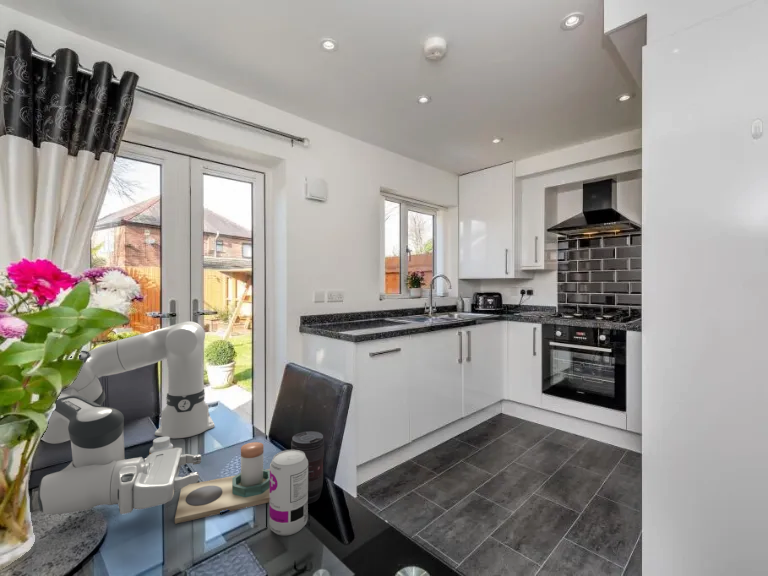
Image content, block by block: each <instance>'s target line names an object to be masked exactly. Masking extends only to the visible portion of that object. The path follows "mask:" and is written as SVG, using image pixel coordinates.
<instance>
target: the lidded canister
mask: <svg viewBox="0 0 768 576" xmlns="http://www.w3.org/2000/svg"><path fill="white" fill-rule="evenodd" d="M264 447H265V445H264V444H263V443H262V442H260V441H258V442H257V441H256V442H255V441H253V442H248V443H245V444H244V445H242V446H241V447H240V473H241V486H244V487H250V486H255V485H260V484H261V483H263V469H264Z"/></svg>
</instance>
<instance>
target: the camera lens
mask: <svg viewBox="0 0 768 576" xmlns="http://www.w3.org/2000/svg"><path fill="white" fill-rule="evenodd" d="M291 438H292V439H291V444H290V445H291V446H290V448H291V449H290V450H299V451H302V452H304V453H305V456H306V458H307V460H308V504H312V503H315V502H316V501H318V500H320V497H321V494H322V490H323V483H324V456H325V439H324V434H322V433H321V432H319V431H311V430H309V431H302V432H299V433H296V434H294V435H293V436H292V437H291Z"/></svg>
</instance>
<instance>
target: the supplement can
mask: <svg viewBox="0 0 768 576" xmlns="http://www.w3.org/2000/svg"><path fill="white" fill-rule="evenodd" d="M269 469H270V502H269V515H268V516H269V517H268V518H269V523H268V524H269V525H268V526H269V529H270V530H271V531H272V532H273V533H274V534H276V535H279V536H291V535H295V534H297V533H299V532H300V531H301V530H302V529H303V528H304V527H305V525H307V523H308V520H309V519H308V518H309V516H308V513H309V512H308V511H309V509H308V508H309V505H308V460H307V458H306V456H305V453H304V452H302V451H299V450H291V449H287V450H286V449H285V450H282V451H280V452H278V453H276V454H274V456H272V460H271V462H270V464H269Z"/></svg>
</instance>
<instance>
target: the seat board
mask: <svg viewBox="0 0 768 576" xmlns="http://www.w3.org/2000/svg"><path fill="white" fill-rule="evenodd" d="M267 503H269V504H270V468H267V469H264V468H263V483H261V484H260V485H255V486H250V487H244V486H241V472H239V473H238V474H236V475H231V476H230V475H229V476H226V477H221V478H216V479H215V478H214V479H211V480H205V481H198V482H197V483H192V484H189V485H187V486H185V487H183V488H181V489H180V493H179V498H178V502H177V507H176V511H175V515H174V516H175V517H174V524H175V525H176V524H179V523H180V524H181V523H185V522H190V521H193V520H194V521H195V520H197V519H202V518H206V517H211V516H215V515H219V514H220V511H222V510H226V509H228V510H230V511H229V512H233V511H237V510H242V509H247V508H250V507H255V506H259V505H263V504H267ZM246 507H247V508H246Z"/></svg>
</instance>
